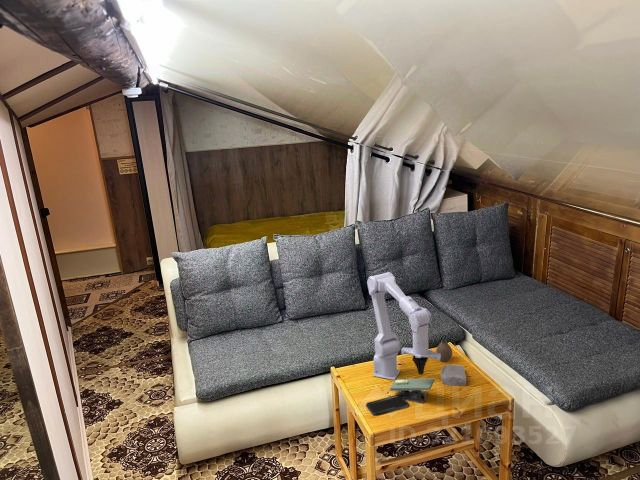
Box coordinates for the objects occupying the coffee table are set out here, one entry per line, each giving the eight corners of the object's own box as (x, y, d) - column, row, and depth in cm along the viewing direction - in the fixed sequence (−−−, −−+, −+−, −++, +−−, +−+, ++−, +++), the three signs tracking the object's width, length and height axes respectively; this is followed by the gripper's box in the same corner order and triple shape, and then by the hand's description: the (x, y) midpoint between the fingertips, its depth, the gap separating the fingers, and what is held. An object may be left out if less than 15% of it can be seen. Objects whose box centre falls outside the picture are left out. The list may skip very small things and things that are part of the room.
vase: (435, 356, 208) (435, 338, 206) (450, 356, 207) (450, 338, 205) (437, 363, 201) (437, 345, 199) (453, 363, 200) (453, 345, 198)
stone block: (443, 389, 185) (468, 386, 183) (440, 379, 184) (466, 375, 182) (441, 375, 196) (465, 371, 194) (438, 365, 196) (462, 361, 193)
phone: (364, 403, 175) (400, 393, 180) (365, 405, 175) (400, 396, 180) (373, 414, 168) (410, 404, 172) (373, 417, 168) (410, 407, 172)
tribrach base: (397, 398, 178) (397, 390, 177) (402, 388, 184) (402, 381, 183) (423, 403, 174) (422, 396, 173) (427, 393, 180) (427, 386, 179)
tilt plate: (391, 392, 179) (388, 384, 179) (396, 383, 185) (394, 375, 185) (430, 392, 171) (428, 383, 170) (435, 382, 177) (433, 374, 176)
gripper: (398, 342, 171) (399, 375, 175) (437, 348, 165) (437, 382, 168) (404, 334, 177) (405, 366, 181) (441, 340, 171) (442, 373, 174)
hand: (421, 373), depth 175 cm, fingers closed
